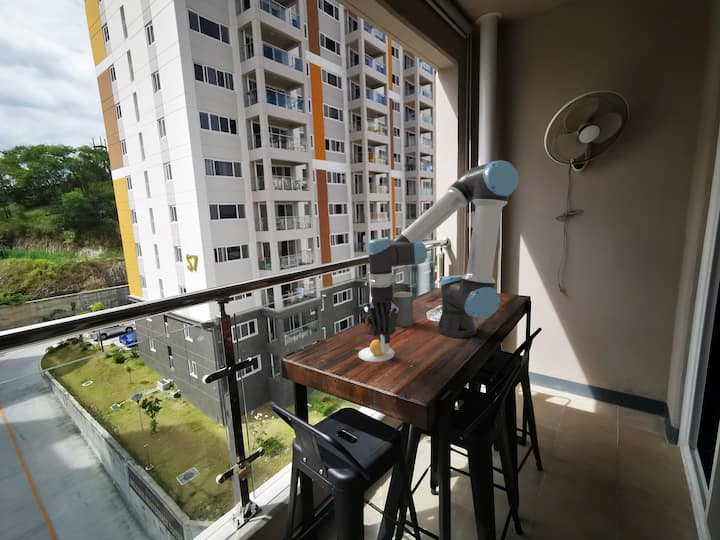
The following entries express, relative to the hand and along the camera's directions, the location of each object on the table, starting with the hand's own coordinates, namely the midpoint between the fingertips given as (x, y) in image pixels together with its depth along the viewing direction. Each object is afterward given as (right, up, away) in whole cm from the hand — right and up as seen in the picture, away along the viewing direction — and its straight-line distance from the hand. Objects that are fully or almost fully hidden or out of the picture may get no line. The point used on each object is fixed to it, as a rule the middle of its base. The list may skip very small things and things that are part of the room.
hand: (385, 351), depth 113 cm
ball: (-3, +1, +2) cm, 3 cm away
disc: (-3, -2, +3) cm, 5 cm away
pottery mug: (-3, +2, +28) cm, 29 cm away
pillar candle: (+11, +4, +34) cm, 36 cm away
